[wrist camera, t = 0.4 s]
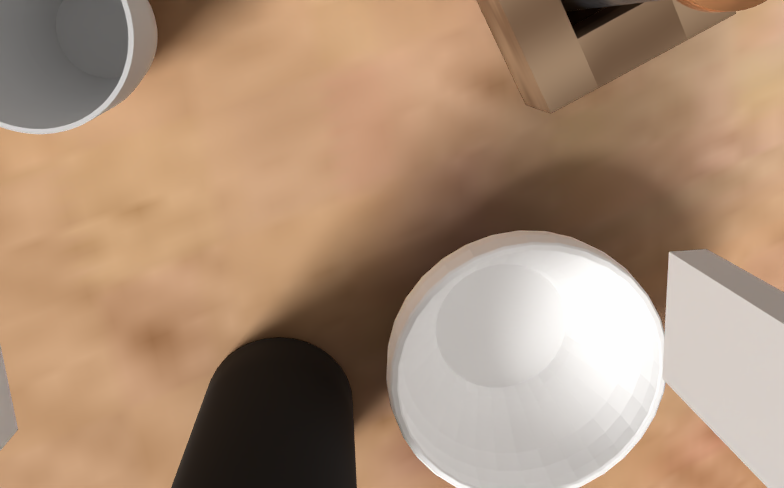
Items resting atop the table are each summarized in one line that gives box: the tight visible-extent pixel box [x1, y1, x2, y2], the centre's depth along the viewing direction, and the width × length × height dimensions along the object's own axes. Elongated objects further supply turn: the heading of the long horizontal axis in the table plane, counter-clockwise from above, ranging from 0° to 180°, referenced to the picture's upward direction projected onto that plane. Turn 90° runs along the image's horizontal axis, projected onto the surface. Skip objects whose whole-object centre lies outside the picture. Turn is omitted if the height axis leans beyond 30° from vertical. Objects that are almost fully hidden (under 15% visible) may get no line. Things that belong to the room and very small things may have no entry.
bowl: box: [386, 230, 665, 488], centre depth 41 cm, size 14×14×8 cm
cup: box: [0, 0, 158, 134], centre depth 33 cm, size 8×8×10 cm
